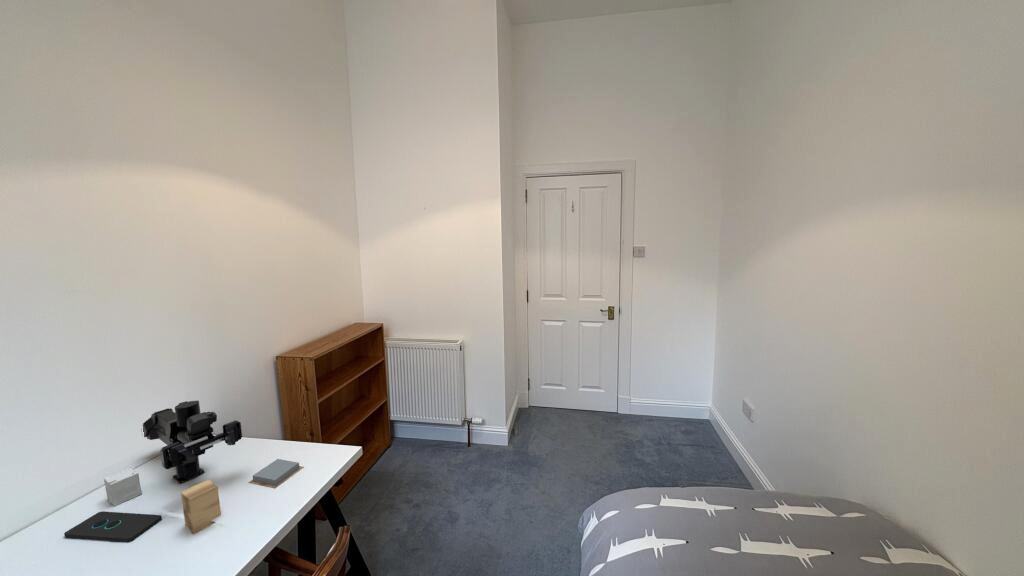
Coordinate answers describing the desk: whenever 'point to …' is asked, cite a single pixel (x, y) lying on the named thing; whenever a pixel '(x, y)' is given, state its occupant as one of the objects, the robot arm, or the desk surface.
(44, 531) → the desk surface
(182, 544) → the desk surface
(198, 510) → the honey oak block
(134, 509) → the desk surface
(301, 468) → the walnut base slab
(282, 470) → the slate top slab
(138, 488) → the skincare box
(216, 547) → the desk surface
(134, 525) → the smart home device
